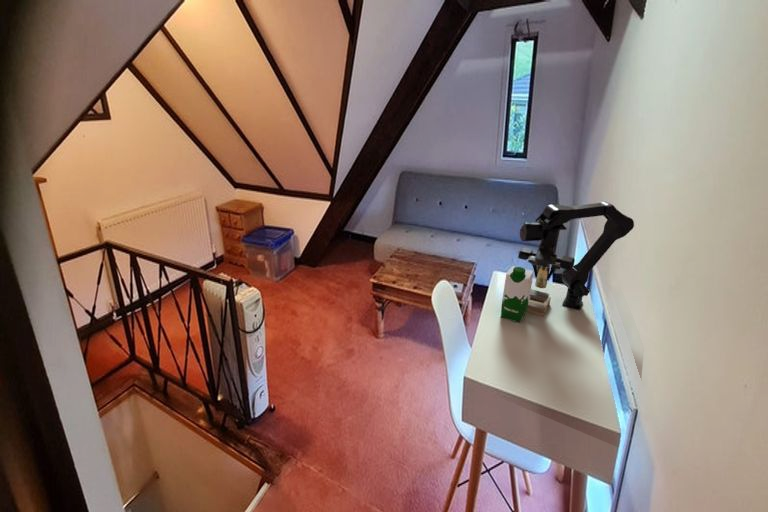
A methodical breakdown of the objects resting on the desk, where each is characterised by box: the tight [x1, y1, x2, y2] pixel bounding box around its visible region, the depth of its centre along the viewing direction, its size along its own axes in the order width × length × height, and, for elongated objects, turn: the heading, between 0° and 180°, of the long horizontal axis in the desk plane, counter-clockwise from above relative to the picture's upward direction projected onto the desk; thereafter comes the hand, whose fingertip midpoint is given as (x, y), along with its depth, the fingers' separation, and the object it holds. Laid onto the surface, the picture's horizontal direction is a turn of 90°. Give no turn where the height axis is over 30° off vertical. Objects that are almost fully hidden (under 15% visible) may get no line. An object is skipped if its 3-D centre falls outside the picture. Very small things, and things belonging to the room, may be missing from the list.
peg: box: [534, 264, 552, 289], centre depth 147 cm, size 4×4×9 cm
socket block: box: [525, 288, 552, 317], centre depth 150 cm, size 10×8×8 cm
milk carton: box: [500, 265, 534, 323], centre depth 142 cm, size 9×9×20 cm
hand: (542, 278), depth 148 cm, fingers closed on peg, 4 cm apart
